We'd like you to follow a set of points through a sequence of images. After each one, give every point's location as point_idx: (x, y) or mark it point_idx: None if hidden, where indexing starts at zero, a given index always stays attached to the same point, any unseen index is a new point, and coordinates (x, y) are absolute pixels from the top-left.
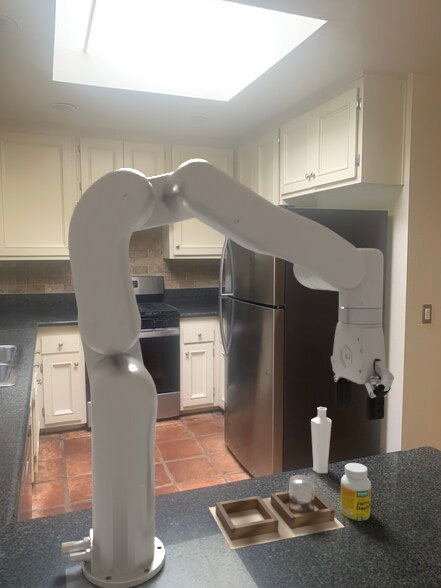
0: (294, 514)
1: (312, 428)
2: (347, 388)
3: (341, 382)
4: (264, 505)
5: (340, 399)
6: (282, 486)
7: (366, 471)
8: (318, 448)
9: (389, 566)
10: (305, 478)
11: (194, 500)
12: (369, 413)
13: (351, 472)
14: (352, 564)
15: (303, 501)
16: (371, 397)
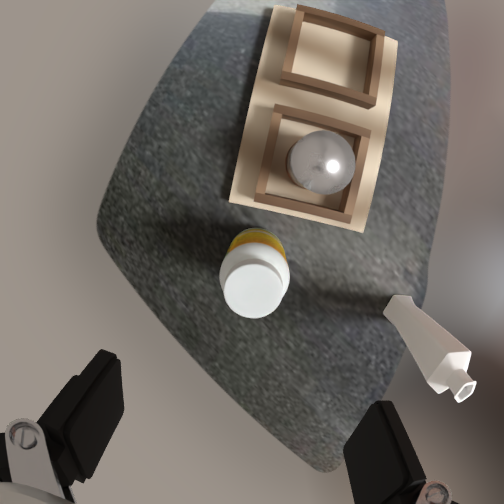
0: (281, 116)
1: (456, 341)
2: (363, 488)
3: (396, 498)
4: (339, 89)
5: (371, 424)
6: (410, 212)
7: (225, 299)
8: (419, 323)
9: (134, 199)
10: (328, 177)
11: (433, 54)
12: (88, 369)
13: (243, 264)
14: (161, 150)
15: (293, 146)
16: (34, 424)
